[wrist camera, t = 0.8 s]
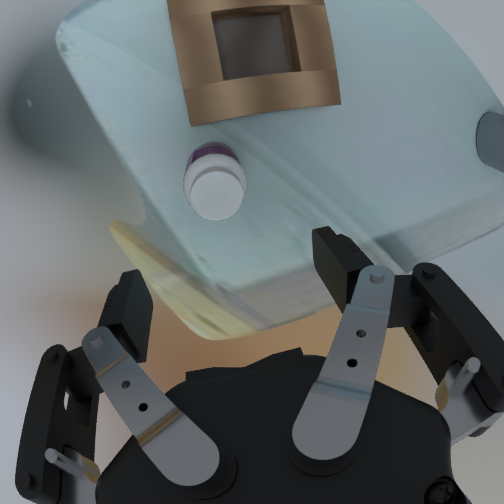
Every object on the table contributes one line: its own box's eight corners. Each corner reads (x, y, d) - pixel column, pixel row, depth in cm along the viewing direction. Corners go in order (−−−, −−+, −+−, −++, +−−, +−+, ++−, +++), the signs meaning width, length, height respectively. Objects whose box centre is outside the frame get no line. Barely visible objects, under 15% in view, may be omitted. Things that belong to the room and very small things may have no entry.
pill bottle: (181, 149, 28) (171, 171, 19) (231, 136, 28) (244, 153, 20) (194, 196, 30) (191, 237, 22) (242, 184, 31) (258, 220, 22)
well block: (304, -12, 20) (317, -23, 16) (324, 103, 27) (341, 104, 24) (169, 2, 19) (164, -11, 16) (192, 123, 26) (191, 126, 23)
